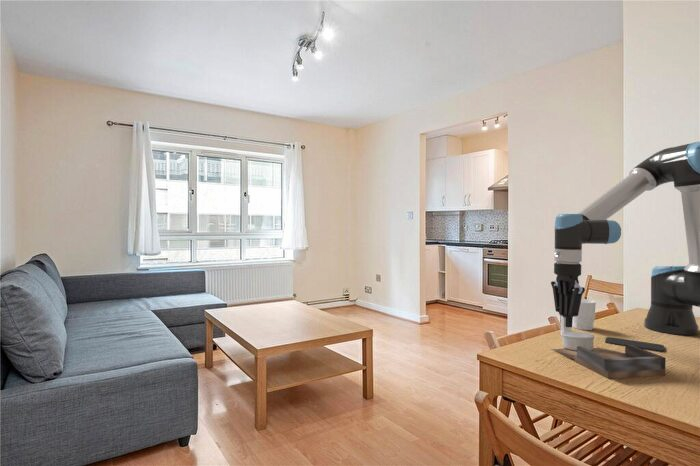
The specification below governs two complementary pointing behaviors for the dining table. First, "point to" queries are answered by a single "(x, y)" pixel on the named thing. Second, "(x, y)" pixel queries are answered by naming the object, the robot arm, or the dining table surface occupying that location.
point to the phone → (636, 344)
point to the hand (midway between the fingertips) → (565, 336)
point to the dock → (618, 361)
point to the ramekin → (577, 340)
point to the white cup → (585, 315)
